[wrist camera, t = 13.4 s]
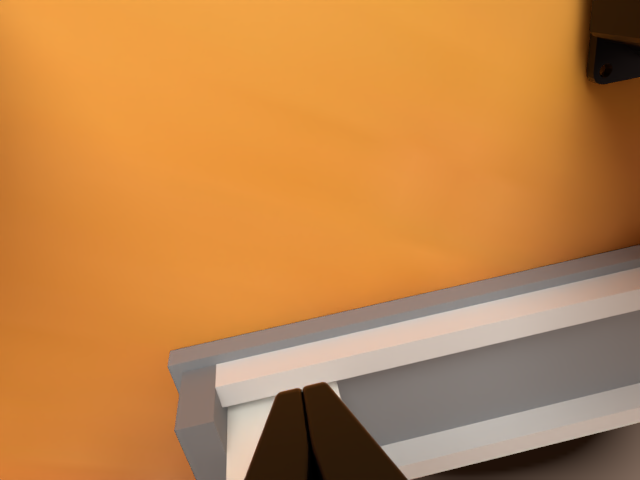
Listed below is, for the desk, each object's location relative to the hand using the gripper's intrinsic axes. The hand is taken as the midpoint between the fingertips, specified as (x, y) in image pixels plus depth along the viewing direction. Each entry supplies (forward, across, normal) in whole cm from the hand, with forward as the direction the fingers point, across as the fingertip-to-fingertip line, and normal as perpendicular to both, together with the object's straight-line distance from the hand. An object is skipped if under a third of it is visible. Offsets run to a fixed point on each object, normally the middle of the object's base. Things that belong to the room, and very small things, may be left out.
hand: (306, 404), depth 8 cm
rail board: (+12, -7, +12) cm, 19 cm away
